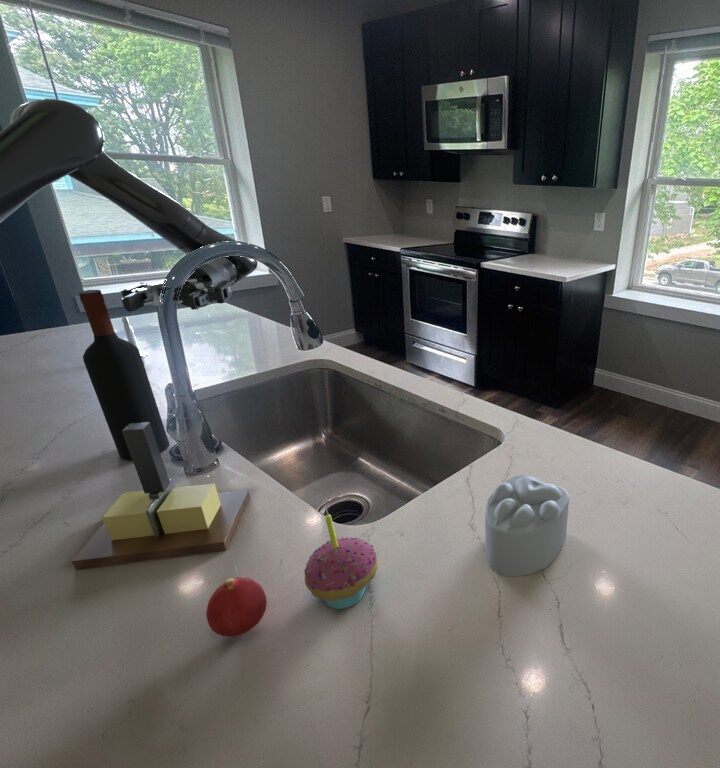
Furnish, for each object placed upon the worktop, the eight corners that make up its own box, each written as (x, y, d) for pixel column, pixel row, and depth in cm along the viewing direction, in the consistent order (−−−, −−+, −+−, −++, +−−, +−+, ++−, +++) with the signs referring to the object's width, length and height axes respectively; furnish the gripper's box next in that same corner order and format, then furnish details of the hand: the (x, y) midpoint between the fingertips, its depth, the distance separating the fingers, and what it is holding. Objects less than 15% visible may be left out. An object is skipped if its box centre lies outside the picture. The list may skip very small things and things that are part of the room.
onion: (220, 616, 55) (203, 565, 52) (273, 602, 57) (261, 553, 54) (210, 660, 50) (191, 607, 47) (269, 643, 52) (255, 591, 49)
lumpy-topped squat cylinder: (574, 531, 70) (578, 483, 67) (532, 590, 60) (535, 538, 56) (515, 506, 75) (516, 461, 72) (467, 557, 65) (465, 507, 61)
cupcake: (298, 592, 59) (281, 516, 54) (360, 557, 64) (350, 486, 60) (329, 636, 53) (313, 556, 48) (394, 594, 59) (385, 519, 54)
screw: (129, 367, 124) (127, 362, 127) (151, 363, 127) (148, 358, 130) (113, 319, 118) (111, 315, 121) (136, 316, 121) (134, 312, 124)
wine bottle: (120, 465, 83) (57, 299, 71) (118, 447, 88) (59, 290, 76) (171, 451, 87) (120, 293, 75) (166, 435, 93) (118, 284, 80)
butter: (111, 540, 64) (101, 517, 63) (131, 514, 69) (123, 492, 67) (208, 528, 67) (201, 506, 65) (221, 504, 72) (214, 483, 70)
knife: (147, 540, 64) (109, 441, 58) (171, 505, 71) (139, 413, 65) (166, 538, 65) (131, 440, 58) (188, 503, 72) (159, 412, 65)
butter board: (75, 570, 61) (71, 561, 61) (123, 511, 72) (119, 503, 71) (226, 550, 65) (223, 542, 64) (250, 497, 76) (248, 489, 75)
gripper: (149, 261, 81) (96, 279, 67) (239, 259, 84) (207, 277, 70) (161, 303, 84) (113, 330, 70) (248, 300, 87) (218, 326, 73)
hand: (160, 304), depth 70 cm, fingers open, 8 cm apart
